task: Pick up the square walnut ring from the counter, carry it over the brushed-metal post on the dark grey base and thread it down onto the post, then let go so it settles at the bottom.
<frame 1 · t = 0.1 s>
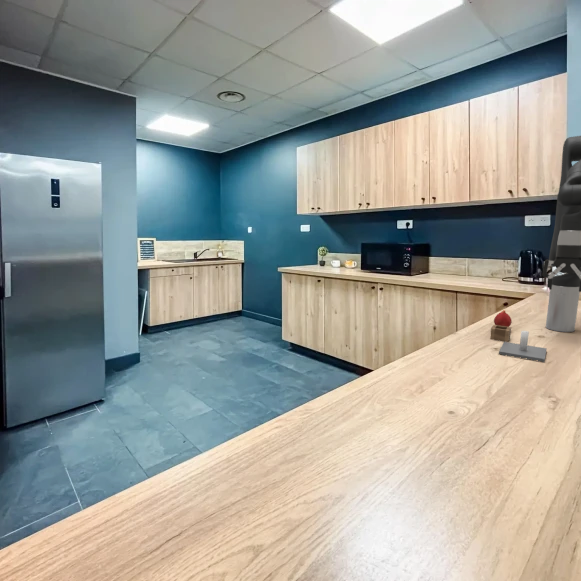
hand: (564, 290, 133), 17 cm above the countertop, tool pointing down, fingers open, 8 cm apart
ring: (500, 338, 135), on the countertop
post stand: (522, 352, 120), on the countertop
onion: (501, 330, 146), on the countertop
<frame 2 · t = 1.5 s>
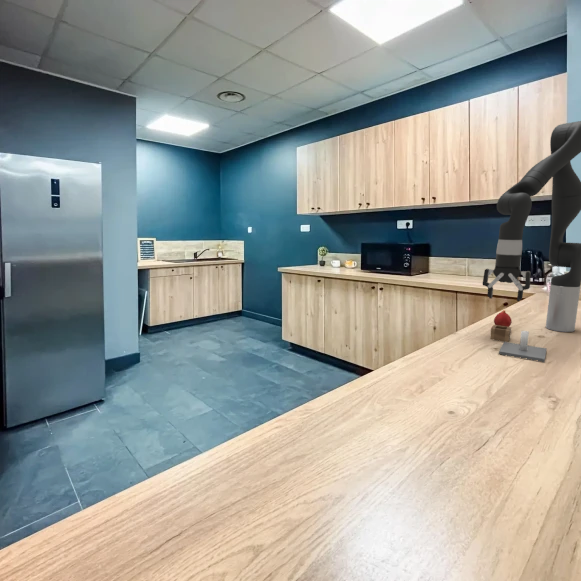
hand: (504, 299, 133), 14 cm above the countertop, tool pointing down, fingers open, 8 cm apart
nothing on the countertop moved.
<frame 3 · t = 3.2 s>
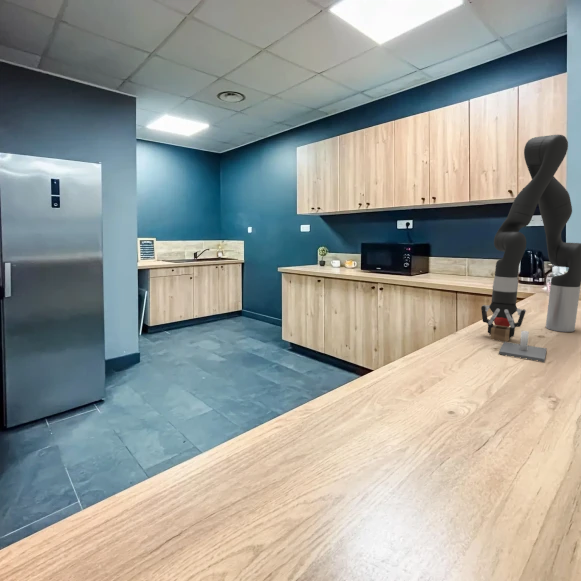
hand: (500, 335, 135), 1 cm above the countertop, tool pointing down, fingers closed on ring, 5 cm apart
ring: (500, 338, 135), on the countertop, touching gripper
everything else where it was.
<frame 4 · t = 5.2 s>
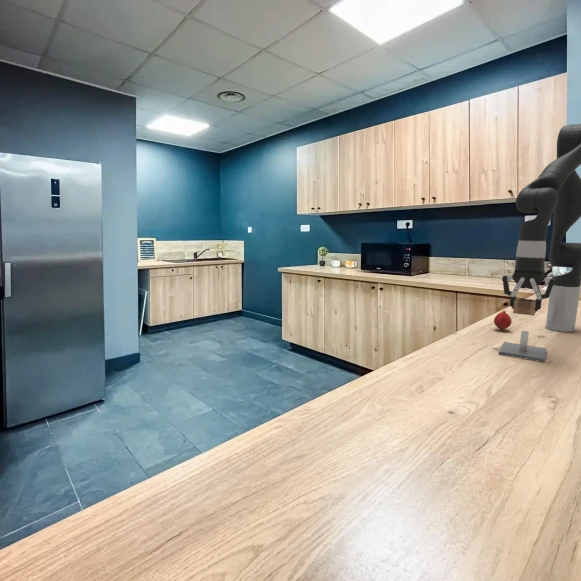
hand: (524, 309, 119), 14 cm above the countertop, tool pointing down, fingers closed on ring, 5 cm apart
ring: (524, 312, 119), point 13 cm above the countertop, touching gripper
everything else where it was.
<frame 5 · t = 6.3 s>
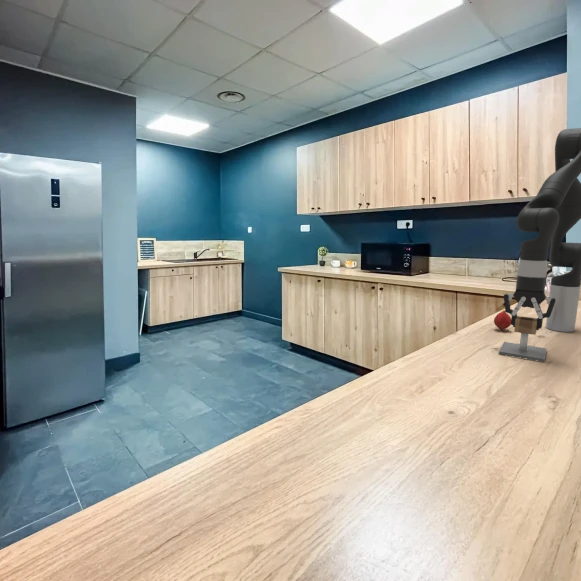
hand: (525, 328, 119), 8 cm above the countertop, tool pointing down, fingers closed on ring, 5 cm apart
ring: (525, 331, 119), point 7 cm above the countertop, touching gripper
everything else where it was.
when the fingers open (5 cm above the countertop, at t = 7.4 s): ring drops 3 cm, resting on post stand.
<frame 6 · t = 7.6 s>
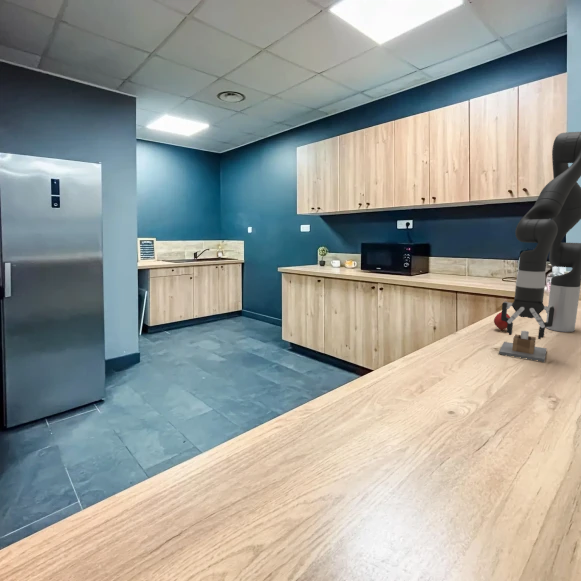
hand: (524, 336, 119), 5 cm above the countertop, tool pointing down, fingers open, 7 cm apart
ring: (523, 349, 120), point 1 cm above the countertop, touching post stand
everything else where it was.
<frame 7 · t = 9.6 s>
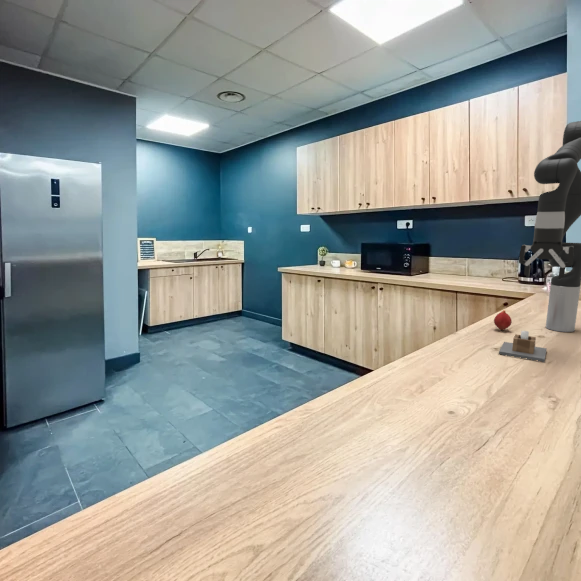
hand: (543, 278, 121), 23 cm above the countertop, tool pointing down, fingers open, 8 cm apart
nothing on the countertop moved.
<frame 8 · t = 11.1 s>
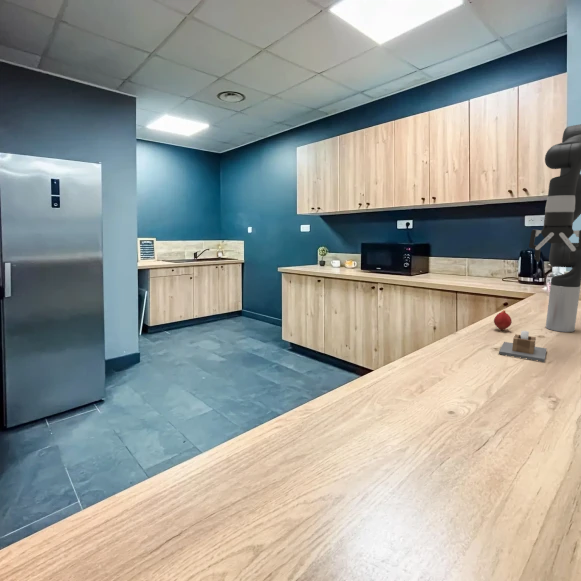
hand: (553, 262, 122), 28 cm above the countertop, tool pointing down, fingers open, 8 cm apart
nothing on the countertop moved.
at the end: ring 0.1 cm from the post stand (horizontally); ring point 1.0 cm above the countertop; the gripper is holding nothing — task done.
